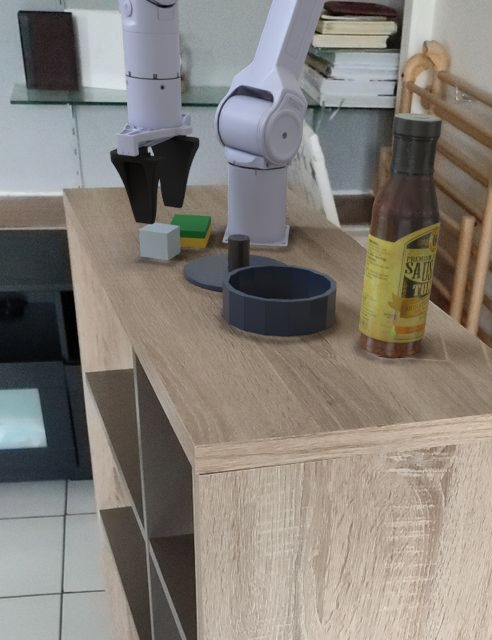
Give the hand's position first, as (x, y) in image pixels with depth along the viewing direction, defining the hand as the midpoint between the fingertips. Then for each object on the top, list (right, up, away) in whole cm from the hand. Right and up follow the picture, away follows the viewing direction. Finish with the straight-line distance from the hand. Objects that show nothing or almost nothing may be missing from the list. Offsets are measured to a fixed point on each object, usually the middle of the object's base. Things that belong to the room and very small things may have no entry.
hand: (159, 214), depth 102 cm
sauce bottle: (+25, -20, -15) cm, 35 cm away
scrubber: (+2, 0, +9) cm, 9 cm away
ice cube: (0, -4, +3) cm, 5 cm away
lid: (+9, -8, -2) cm, 12 cm away
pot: (+14, -16, -11) cm, 24 cm away
